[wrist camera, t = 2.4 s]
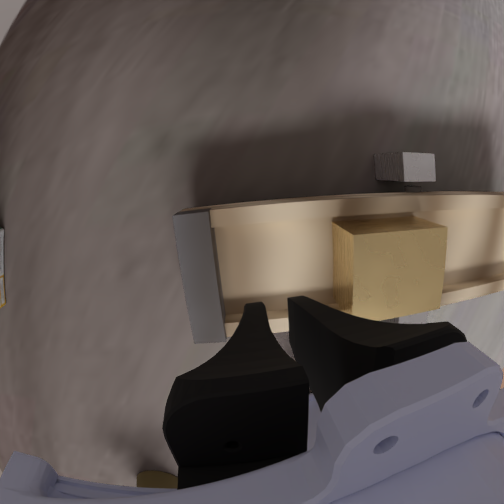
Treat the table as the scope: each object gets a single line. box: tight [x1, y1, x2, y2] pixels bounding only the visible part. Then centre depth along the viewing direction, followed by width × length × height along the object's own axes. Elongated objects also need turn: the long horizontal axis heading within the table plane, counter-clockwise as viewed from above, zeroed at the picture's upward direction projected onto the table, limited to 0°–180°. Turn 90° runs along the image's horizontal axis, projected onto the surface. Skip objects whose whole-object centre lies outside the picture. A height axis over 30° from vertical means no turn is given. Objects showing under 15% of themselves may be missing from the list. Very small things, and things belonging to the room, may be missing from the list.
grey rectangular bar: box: [374, 152, 436, 324], centre depth 21 cm, size 3×14×4 cm, turn 5°
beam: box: [172, 186, 504, 344], centre depth 19 cm, size 31×9×4 cm, turn 95°
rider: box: [332, 216, 448, 321], centre depth 17 cm, size 6×5×4 cm
